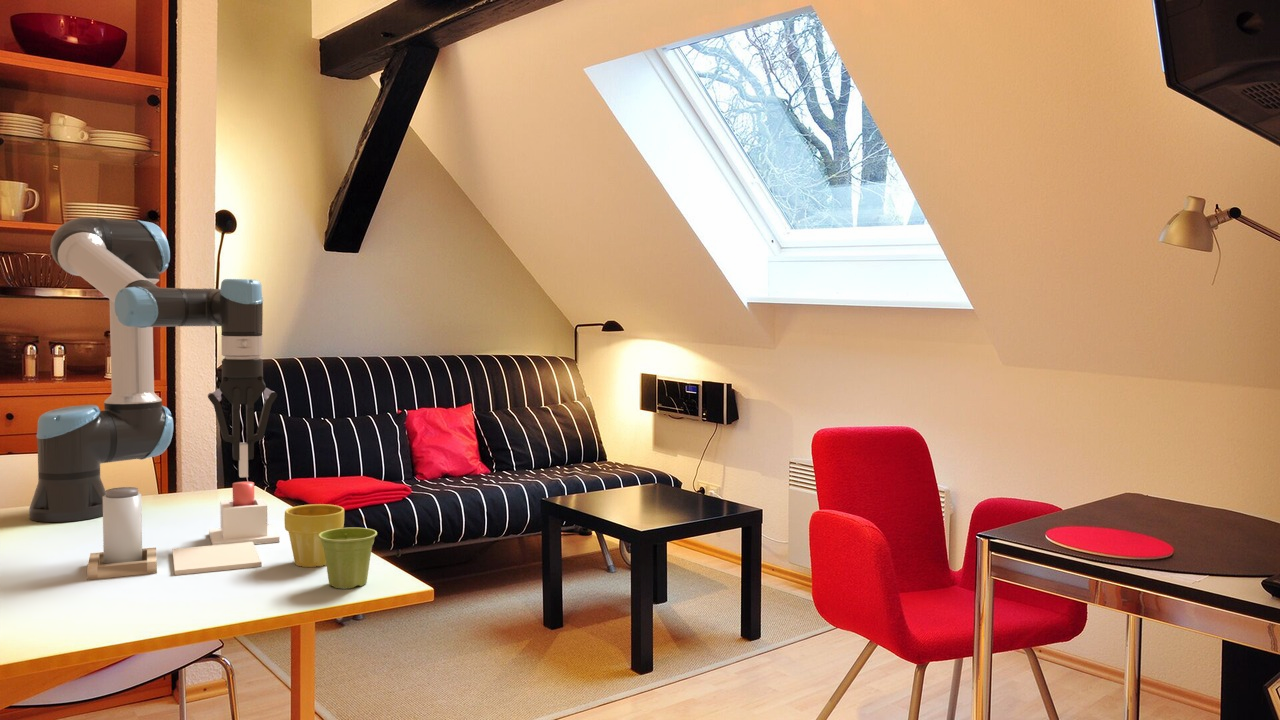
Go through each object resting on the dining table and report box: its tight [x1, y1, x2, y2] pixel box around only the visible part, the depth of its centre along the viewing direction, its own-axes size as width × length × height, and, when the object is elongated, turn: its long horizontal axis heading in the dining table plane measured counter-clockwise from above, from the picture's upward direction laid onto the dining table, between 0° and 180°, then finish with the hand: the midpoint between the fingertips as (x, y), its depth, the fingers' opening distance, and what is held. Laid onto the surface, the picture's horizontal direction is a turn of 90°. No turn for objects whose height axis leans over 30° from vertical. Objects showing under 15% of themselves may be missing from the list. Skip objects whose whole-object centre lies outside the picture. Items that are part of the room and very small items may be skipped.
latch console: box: [208, 497, 280, 545], centre depth 194 cm, size 12×12×7 cm
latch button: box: [232, 481, 255, 507], centre depth 194 cm, size 4×4×5 cm
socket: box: [86, 547, 158, 581], centre depth 172 cm, size 10×10×2 cm
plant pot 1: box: [284, 503, 345, 568], centre depth 177 cm, size 10×10×10 cm
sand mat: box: [172, 542, 263, 576], centre depth 178 cm, size 16×14×1 cm
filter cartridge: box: [102, 486, 143, 564], centre depth 171 cm, size 6×6×14 cm
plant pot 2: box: [319, 527, 378, 589], centre depth 165 cm, size 9×9×9 cm
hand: (243, 476), depth 194 cm, fingers closed
